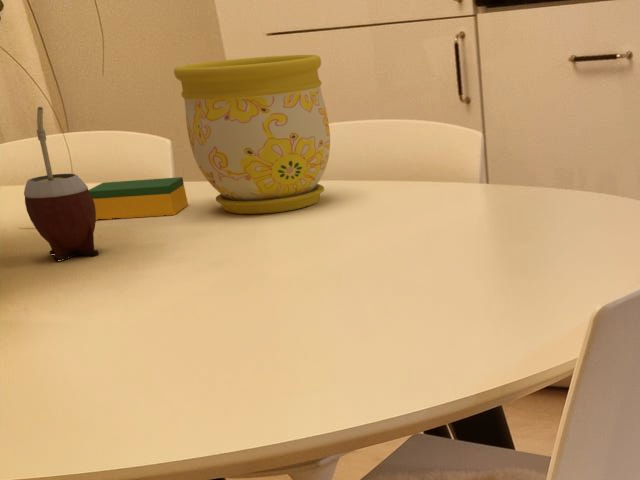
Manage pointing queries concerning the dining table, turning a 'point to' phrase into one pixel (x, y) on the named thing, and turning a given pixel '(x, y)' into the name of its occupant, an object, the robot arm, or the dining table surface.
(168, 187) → the sponge
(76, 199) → the mate gourd
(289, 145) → the flowerpot
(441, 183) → the dining table surface
